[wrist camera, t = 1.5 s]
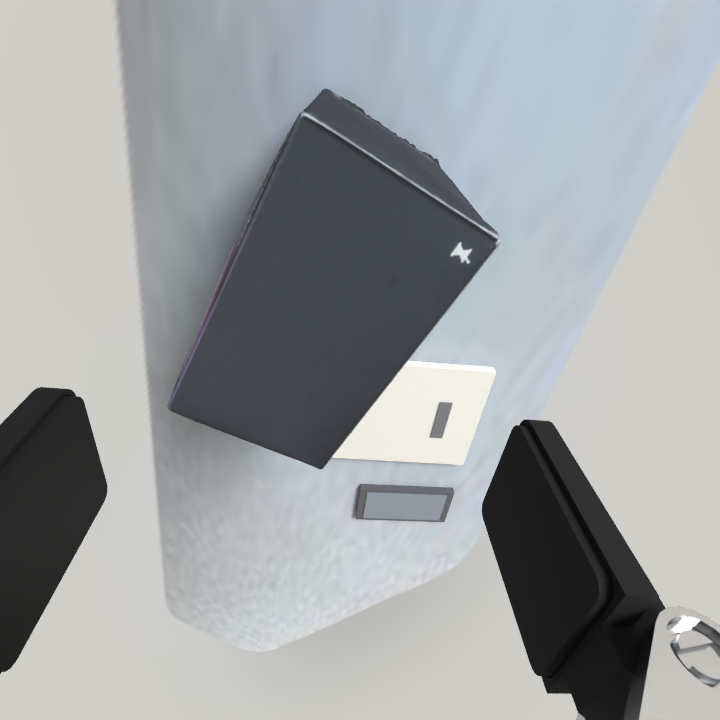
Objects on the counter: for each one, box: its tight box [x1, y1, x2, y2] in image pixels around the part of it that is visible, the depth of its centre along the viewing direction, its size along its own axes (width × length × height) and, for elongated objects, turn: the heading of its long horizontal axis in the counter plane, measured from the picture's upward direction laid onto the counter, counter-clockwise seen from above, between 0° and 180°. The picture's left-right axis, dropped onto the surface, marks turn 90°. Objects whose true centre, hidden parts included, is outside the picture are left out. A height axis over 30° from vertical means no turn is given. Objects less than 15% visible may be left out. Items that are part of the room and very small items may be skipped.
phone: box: [356, 484, 454, 522], centre depth 34 cm, size 4×7×1 cm, turn 84°
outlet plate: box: [332, 361, 496, 465], centre depth 28 cm, size 8×11×1 cm
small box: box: [168, 89, 499, 469], centre depth 17 cm, size 11×6×10 cm, turn 150°
